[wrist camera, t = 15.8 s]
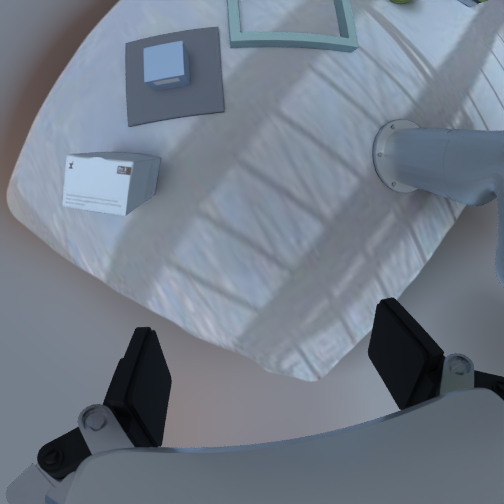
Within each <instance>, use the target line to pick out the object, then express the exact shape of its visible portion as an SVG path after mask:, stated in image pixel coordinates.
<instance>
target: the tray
mask: <svg viewBox="0 0 504 504" xmlns="http://www.w3.org/2000/svg"><path fill="white" fill-rule="evenodd" d="M334 3H335V8H336V13H337V18H338V24H339V29H340V35H341V37H336V36H328V35H319V34H308V33H291V32H242V33H241V32H240V21H239V9H238V0H227V7H228V21H229V34H230V48H242V47H300V48H315V49H327V50H336V51H344V52H352V51H354V50H356V49H357V48H359V45H358V39H357V34H356V28H355V23H354V18H353V13H352V9H351V4H350V0H334Z"/></svg>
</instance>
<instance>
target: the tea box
mask: <svg viewBox="0 0 504 504" xmlns="http://www.w3.org/2000/svg"><path fill="white" fill-rule="evenodd" d="M459 1H461V2H462V3H464V4H466V5H467V6H469V7H471V6H473V5H476V4H478V3H481V2H485V1H487V0H459Z"/></svg>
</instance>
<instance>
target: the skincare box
mask: <svg viewBox="0 0 504 504" xmlns="http://www.w3.org/2000/svg"><path fill="white" fill-rule="evenodd" d="M160 161H161V158H160V157H156V156H150V155H144V154H135V153H119V152H95V153H79V154H68V155H67V157H66V166H65V178H64V192H63V206H64V207H69V208H75V209H81V210H87V211H93V212H100V213H106V214H113V215H120V216H126V215H127V214H129V213H130V212H131V211H133V210H134V209H135V208H137V207H138V206H140V205H141V204H142V203H144V202H145V201H147V200H148V199H150V198H151V197H152V196H154V195H155V190H156V184H157V178H158V172H159V166H160Z"/></svg>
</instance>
